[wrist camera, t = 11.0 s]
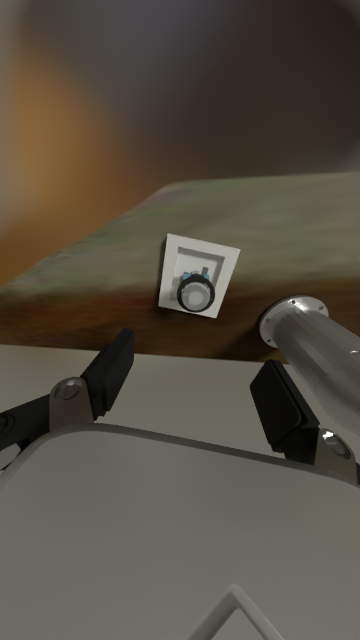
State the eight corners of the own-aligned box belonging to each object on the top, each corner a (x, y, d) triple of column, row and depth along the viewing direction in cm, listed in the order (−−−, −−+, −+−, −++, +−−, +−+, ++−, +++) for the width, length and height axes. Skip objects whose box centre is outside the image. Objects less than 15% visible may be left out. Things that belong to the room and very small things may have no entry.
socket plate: (237, 248, 26) (240, 249, 25) (214, 313, 33) (215, 318, 31) (169, 233, 26) (167, 233, 24) (160, 301, 33) (158, 305, 31)
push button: (174, 290, 30) (166, 314, 22) (174, 262, 28) (165, 276, 19) (208, 292, 30) (213, 317, 21) (211, 264, 27) (218, 279, 19)
